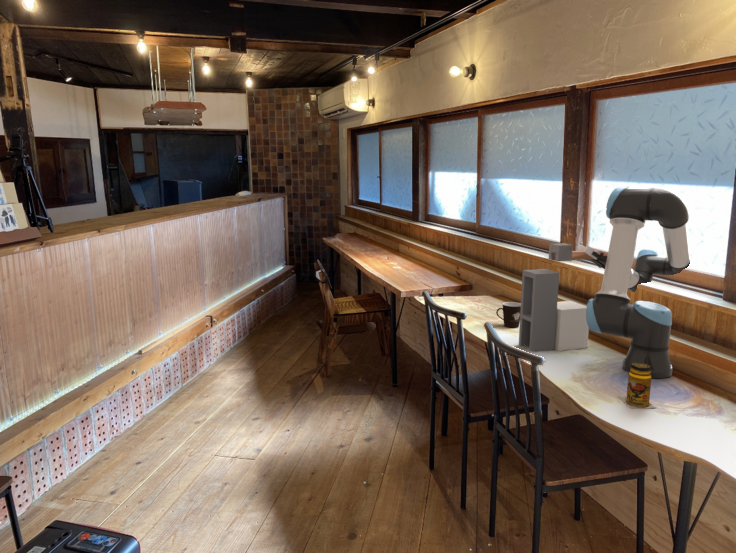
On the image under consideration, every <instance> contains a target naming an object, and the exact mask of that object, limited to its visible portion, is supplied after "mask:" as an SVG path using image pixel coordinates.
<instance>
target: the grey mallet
mask: <svg viewBox="0 0 736 553" xmlns="http://www.w3.org/2000/svg"><path fill="white" fill-rule="evenodd" d="M548 246H549V247H548V260H550V261H555V262H572V261H579V260H587V259H594V258H592V257H591V256H589V255H588V254H586V253H585V252H583V251H578V250H573V249H574V248H573V246H574V244H569V243H564V242H560V243H559V242H557V243H556V242H555V243H549V245H548ZM594 250H595V251H597V252H598V253H600V254H601V252H602V251H601V250H597V249H594ZM597 259H598V258H597Z"/></svg>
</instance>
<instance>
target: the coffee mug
mask: <svg viewBox="0 0 736 553" xmlns="http://www.w3.org/2000/svg"><path fill="white" fill-rule="evenodd" d="M500 310H502V315H503V316H502V317H501V316H500V315H499V313H498V312H499V311H500ZM520 311H521V302H515V301H505V302H502V307H498V308H497V309H496V313H495V314H496V315H497V317H498V318H499V319H501V320H502V321H503V327H505V328H509V329H518V328H520Z"/></svg>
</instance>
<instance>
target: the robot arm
mask: <svg viewBox="0 0 736 553" xmlns="http://www.w3.org/2000/svg"><path fill="white" fill-rule="evenodd" d="M605 208H606V209H605V215H606V218H608V219H609V223H610V224H611V226H612V230H611V236H610V241H609V246H608V252H607V255H604V252H602V251H601V254H600V253H598V252H597V251H595V250H596V249H594V248H593V247H591V246H589V245H586V246H585V245H583V244H580V245H579V246H578V248H577V251H583V252H585V253H586V254H588V255H589V256H591V257H592V258H594V259H586V260H587V261H590V262H591V263H593V264H595V265H596V266H597V267H598V268H599V269H604V272H603V277H602V282H601V288H600V290H598V291H597V292H595V294H594V298H590V299H588V301H587V304H586V306H587V308H586V319H587V324H588V327H589V331H592V332H594V333H598V334H601V335H610V336H616V337H621V338H627V339H630V346H629V349H628V350H627V353H626V356H625V357H624V359H623V361H622V369H623V370H624V371H625V372H627V373H629V372H630V369H631V364H632V363H645V364H648V365H650V367H651V373H650V375H651V377H652V378H651V379H666V378H669V377H671V376H672V374H673V365H672V363H671V362H672V361H671V357H670V353H669V350H670V340H671V333H672V332H671V329H672V325H673V321H672V320H673V315H672V314H673V312H672V311H671V309H670V308H668V307H667V306H665V305H663V304H660V303H657V302H653V301H647V300H646V301H645V300H637V301H635V302H634V303H633V304H631V298H630V297H629V296H628V291H629V292H631V293H633V292H635V291H636V289H637V285H638V284H641V283H647V282H651V281H652V282H653V278H654V275H656V276H664V275H666V276H667V275H668V276H667V277H670V276H669V275H674V274H677V273H680V272H681V271H682V270H683V269H685V268H687V267H688V266H689V264H690V259H691V255H690V245H689V238H688V236H689V235H688V229H687V223H688V222H689V217H690V214H689V210H688V207H687V205H686V204H685V202H684V201H683V199H682V197H680V196H679V195H678V194H676V193H675V192H673V191H672V190H670V189H668V188H665V187H659V186H658V187H657V186H656V187H647V186H646V187H645V186H644V187H643V186H641V187H640V186H639V187H638V186H621V187H620V186H619V187H616V188H614V189H613V190H612V191H611V193H610V195H609V197H608V200H607V201H606V207H605ZM646 221H655V222H656V221H657V222H658V224H659V226H660V227H661V228H662V232H663V237H664V238H663V239H664V244H665V249H666V256H660V255H659V253H658V252H657V251H655V250H652V249H650V248H643V249H641V250H639V252H638V254H637V255H636V256H637V257H636V259H635V262H634V258H635V252H636V247H637V242H638V238H639V237H638V236H639V232H640V230H641V229H642V228H644V227H645V224H646ZM597 258H598V259H597ZM633 263H635V264H633ZM633 265H634V267H633ZM666 276H665V277H666Z"/></svg>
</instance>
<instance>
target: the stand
mask: <svg viewBox="0 0 736 553" xmlns="http://www.w3.org/2000/svg"><path fill="white" fill-rule="evenodd" d="M521 275H522V277H521V278H522V280H521V281H522V282H521V293H520V294H521V295H520V303H521V311H520V323H519V332H518V334H519V335H518V346H520V347H522V346H523V347H524V346H525V345H526V346H528V351H529V352H530V353H532V352H543V351H544V352H545V351H552V350H553V351H554V350H555V349H554V346H555V331H556V316H557V302H559V301H558V299H559V298H558V297H559V284H560V272H558V271H554V270H551V269H547V268H538V269H535V268H534V269H523V270H522V274H521Z"/></svg>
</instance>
